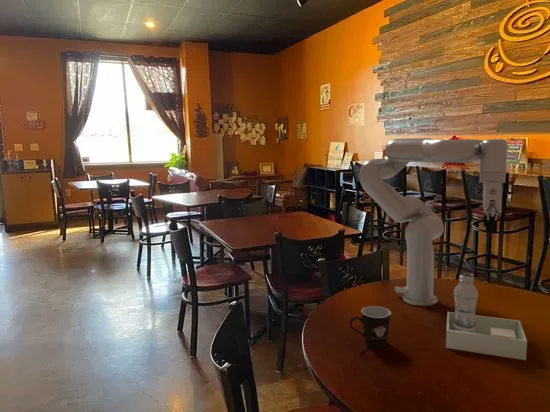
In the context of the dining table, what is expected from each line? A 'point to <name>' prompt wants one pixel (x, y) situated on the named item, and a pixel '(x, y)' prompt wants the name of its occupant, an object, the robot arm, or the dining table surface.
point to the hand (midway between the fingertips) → (489, 229)
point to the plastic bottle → (465, 304)
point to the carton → (502, 333)
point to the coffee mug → (374, 326)
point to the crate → (488, 337)
